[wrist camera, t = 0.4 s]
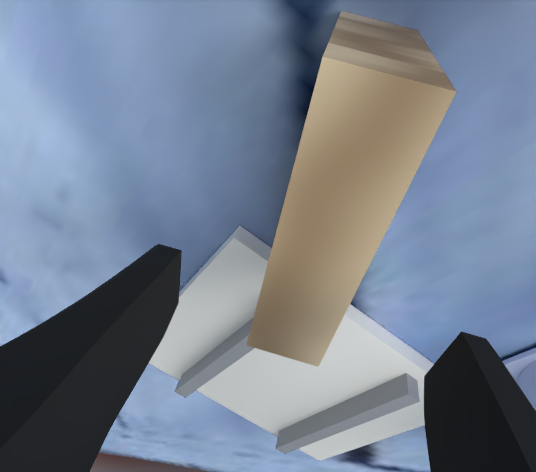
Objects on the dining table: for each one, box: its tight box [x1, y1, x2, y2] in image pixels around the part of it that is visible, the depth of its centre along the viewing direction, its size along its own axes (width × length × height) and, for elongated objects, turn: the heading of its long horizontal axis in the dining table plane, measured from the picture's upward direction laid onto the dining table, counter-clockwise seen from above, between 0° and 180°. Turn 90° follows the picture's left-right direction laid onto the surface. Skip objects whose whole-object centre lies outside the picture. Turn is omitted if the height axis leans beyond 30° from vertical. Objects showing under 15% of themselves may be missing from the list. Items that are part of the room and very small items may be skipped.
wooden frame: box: [246, 11, 456, 367], centre depth 15 cm, size 3×11×8 cm, turn 169°
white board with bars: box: [149, 226, 434, 461], centre depth 28 cm, size 20×16×3 cm
